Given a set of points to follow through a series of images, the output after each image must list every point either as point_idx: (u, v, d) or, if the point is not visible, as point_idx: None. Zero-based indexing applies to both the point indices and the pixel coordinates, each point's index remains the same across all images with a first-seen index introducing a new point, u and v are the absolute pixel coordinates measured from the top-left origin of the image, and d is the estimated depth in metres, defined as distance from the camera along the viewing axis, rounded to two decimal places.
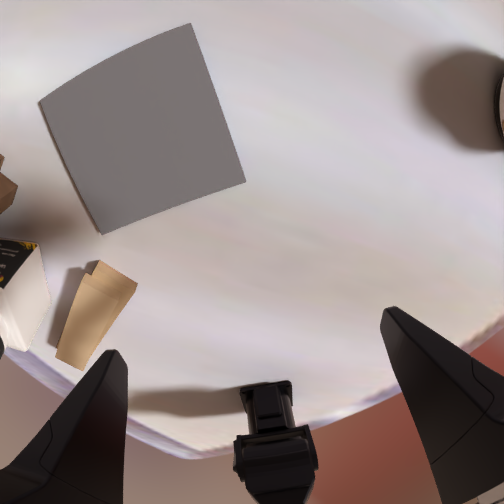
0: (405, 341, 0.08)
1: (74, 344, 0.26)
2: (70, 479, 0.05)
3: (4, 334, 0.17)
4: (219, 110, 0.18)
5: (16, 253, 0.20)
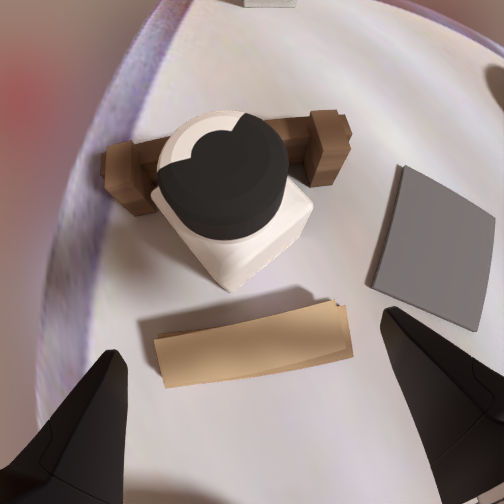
0: (405, 341, 0.08)
1: (215, 350, 0.20)
2: (70, 479, 0.05)
3: (261, 231, 0.16)
4: (487, 276, 0.22)
5: None
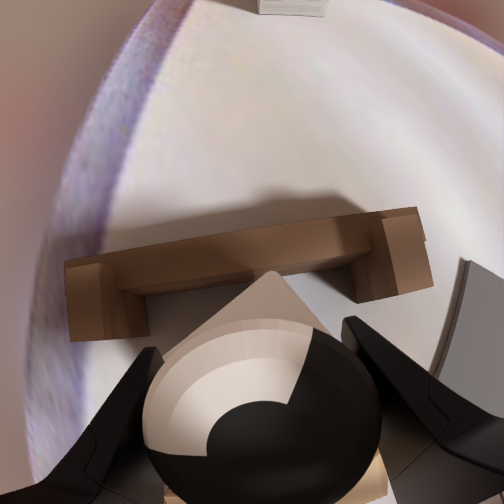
0: (360, 354, 0.08)
1: None
2: (118, 488, 0.05)
3: None
4: None
5: None
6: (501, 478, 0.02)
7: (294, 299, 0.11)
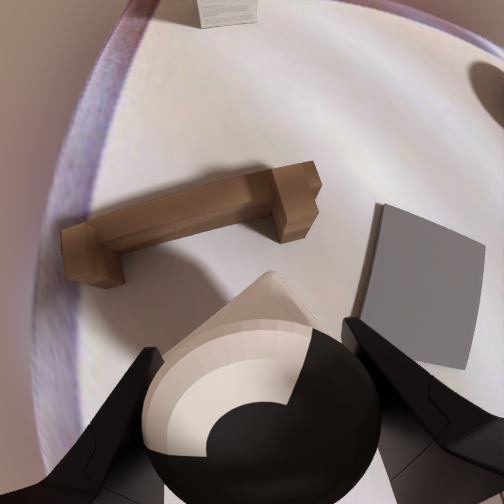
0: (361, 353, 0.08)
1: None
2: (119, 488, 0.05)
3: None
4: (476, 311, 0.22)
5: None
6: (501, 478, 0.02)
7: (293, 299, 0.11)
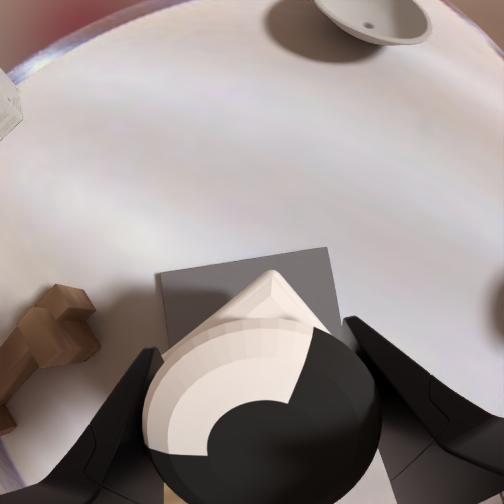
0: (361, 354, 0.08)
1: None
2: (119, 488, 0.05)
3: None
4: None
5: None
6: (501, 478, 0.02)
7: (294, 298, 0.11)
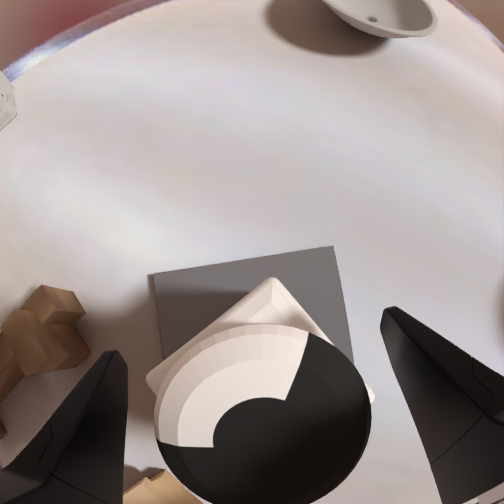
0: (405, 341, 0.08)
1: None
2: (70, 479, 0.05)
3: None
4: (349, 344, 0.18)
5: None
6: None
7: (292, 304, 0.12)
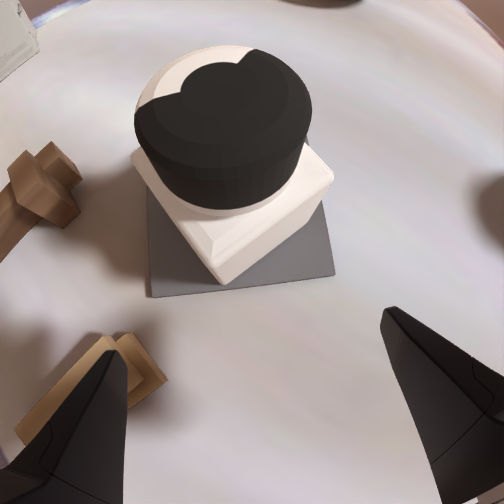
0: (405, 341, 0.08)
1: None
2: (70, 479, 0.05)
3: (269, 200, 0.12)
4: None
5: None
6: None
7: None
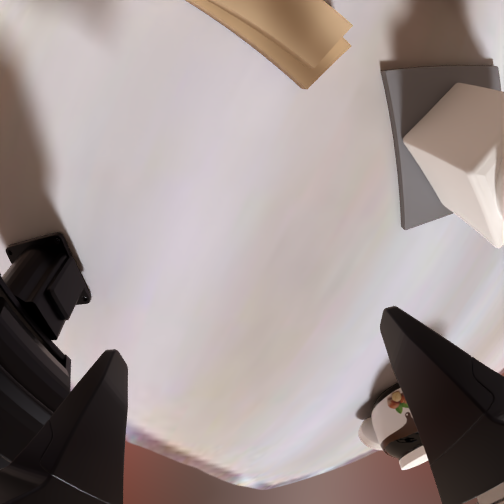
0: (405, 341, 0.08)
1: None
2: (70, 480, 0.05)
3: None
4: None
5: None
6: None
7: None
